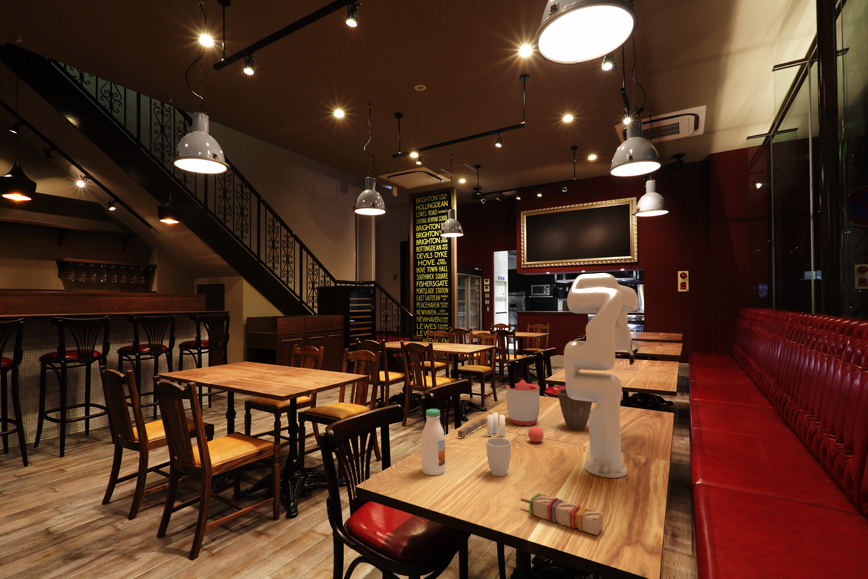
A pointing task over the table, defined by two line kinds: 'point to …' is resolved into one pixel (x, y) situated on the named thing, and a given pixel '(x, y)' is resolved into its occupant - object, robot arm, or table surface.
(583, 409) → the plant pot
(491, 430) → the pin
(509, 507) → the table surface
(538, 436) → the ball
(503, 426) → the front pin
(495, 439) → the cup
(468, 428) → the brown textured bar
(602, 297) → the robot arm
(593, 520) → the skewer
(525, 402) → the citrus juicer
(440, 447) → the milk bottle
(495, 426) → the pin
